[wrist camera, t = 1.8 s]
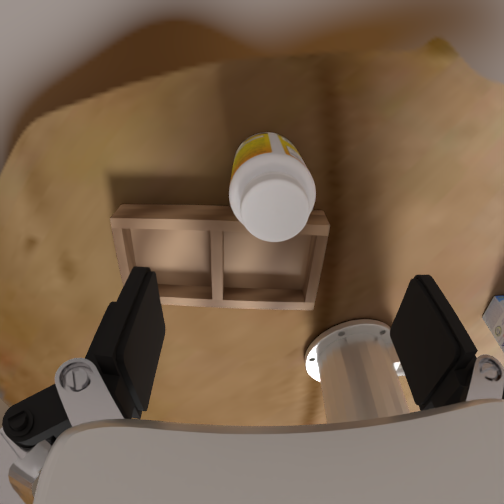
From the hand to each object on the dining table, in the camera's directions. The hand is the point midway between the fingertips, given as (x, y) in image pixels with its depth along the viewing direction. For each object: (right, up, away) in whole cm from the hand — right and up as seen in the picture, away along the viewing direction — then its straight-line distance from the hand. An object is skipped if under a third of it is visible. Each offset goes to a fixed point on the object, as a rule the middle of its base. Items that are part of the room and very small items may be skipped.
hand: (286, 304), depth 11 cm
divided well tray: (-4, +2, +20) cm, 21 cm away
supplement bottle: (0, +10, +16) cm, 18 cm away
